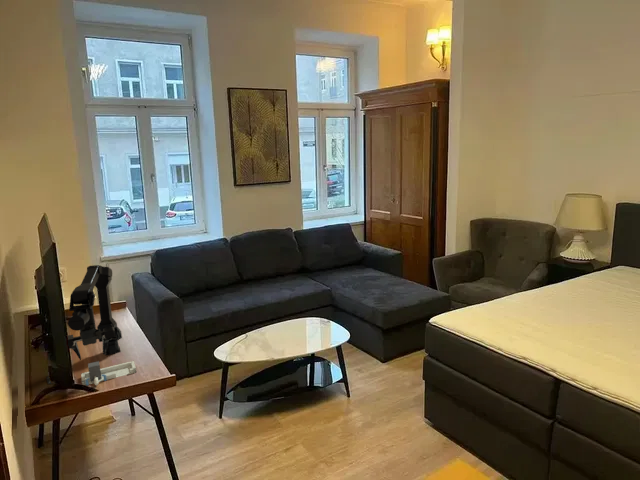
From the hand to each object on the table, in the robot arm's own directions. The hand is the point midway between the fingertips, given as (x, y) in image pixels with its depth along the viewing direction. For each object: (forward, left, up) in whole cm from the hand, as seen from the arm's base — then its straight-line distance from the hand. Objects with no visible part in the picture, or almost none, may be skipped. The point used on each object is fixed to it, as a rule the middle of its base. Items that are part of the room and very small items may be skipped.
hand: (92, 356), depth 184 cm
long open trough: (0, +5, -10) cm, 11 cm away
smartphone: (-10, -10, -10) cm, 18 cm away
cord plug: (+3, 0, -9) cm, 10 cm away
